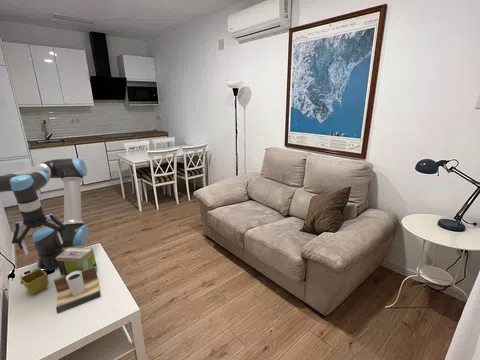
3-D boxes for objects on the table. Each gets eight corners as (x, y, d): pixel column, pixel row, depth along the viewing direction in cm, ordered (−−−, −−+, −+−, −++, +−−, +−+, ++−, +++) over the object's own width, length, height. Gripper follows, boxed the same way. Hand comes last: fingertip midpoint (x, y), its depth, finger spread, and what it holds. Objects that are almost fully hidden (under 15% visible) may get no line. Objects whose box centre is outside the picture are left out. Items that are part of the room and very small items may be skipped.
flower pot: (32, 298, 124) (26, 284, 121) (24, 291, 129) (19, 277, 126) (51, 287, 131) (47, 273, 128) (44, 281, 136) (39, 268, 133)
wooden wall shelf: (58, 293, 127) (53, 279, 124) (98, 279, 136) (94, 266, 133) (57, 313, 116) (52, 298, 113) (100, 296, 125) (97, 282, 122)
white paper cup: (88, 289, 127) (84, 273, 123) (75, 298, 121) (70, 282, 118) (81, 284, 130) (77, 269, 127) (68, 293, 124) (62, 277, 121)
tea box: (98, 269, 144) (93, 247, 140) (86, 281, 135) (80, 259, 130) (74, 267, 146) (68, 246, 141) (61, 280, 137) (54, 257, 132)
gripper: (-8, 220, 102) (10, 262, 110) (64, 204, 116) (75, 242, 124) (-5, 213, 108) (12, 253, 116) (63, 198, 122) (74, 235, 129)
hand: (45, 247), depth 120 cm, fingers open, 13 cm apart
